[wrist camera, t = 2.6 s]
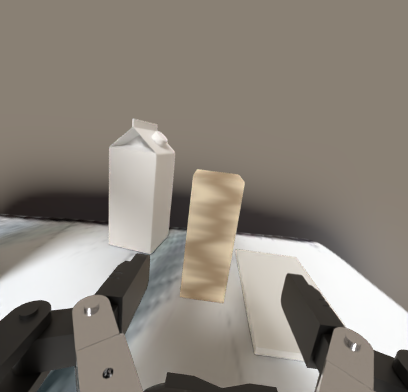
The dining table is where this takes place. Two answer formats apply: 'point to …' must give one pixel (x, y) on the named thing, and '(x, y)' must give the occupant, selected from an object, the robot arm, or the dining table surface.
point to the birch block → (210, 234)
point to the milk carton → (140, 188)
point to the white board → (269, 301)
